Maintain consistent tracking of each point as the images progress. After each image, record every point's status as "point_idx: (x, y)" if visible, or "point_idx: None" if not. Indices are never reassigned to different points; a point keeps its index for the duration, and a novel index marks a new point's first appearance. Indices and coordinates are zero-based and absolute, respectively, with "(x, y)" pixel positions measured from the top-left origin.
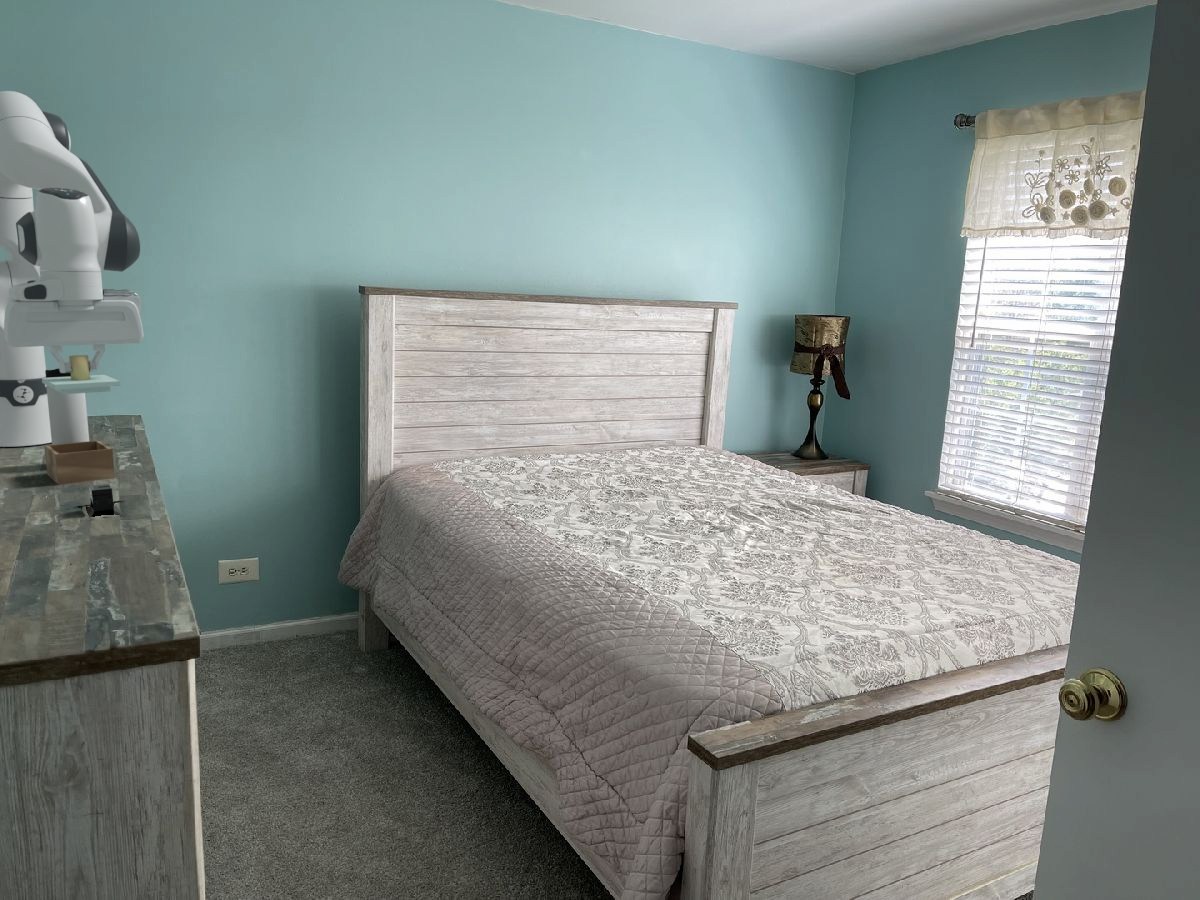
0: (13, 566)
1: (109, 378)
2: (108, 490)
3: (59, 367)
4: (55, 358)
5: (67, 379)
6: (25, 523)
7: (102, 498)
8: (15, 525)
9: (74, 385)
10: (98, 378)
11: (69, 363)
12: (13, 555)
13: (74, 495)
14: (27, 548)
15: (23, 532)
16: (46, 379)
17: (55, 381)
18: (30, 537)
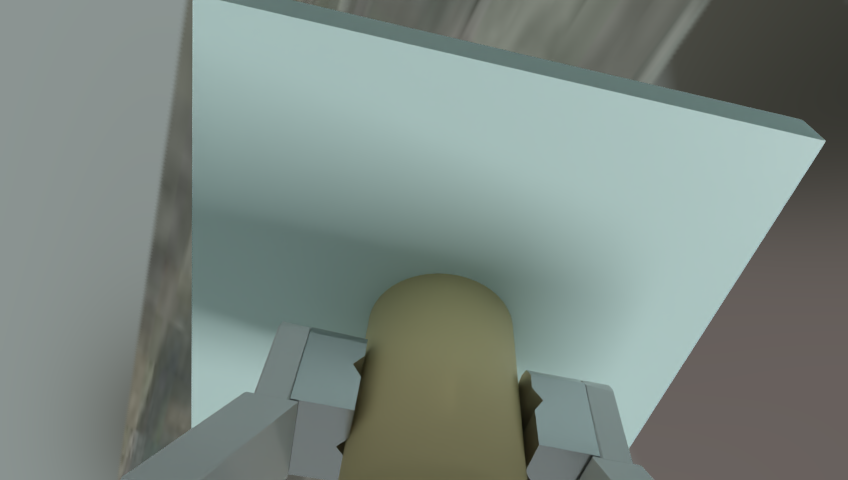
0: (127, 452)
1: (635, 393)
2: None
3: (271, 349)
4: (209, 417)
5: (359, 267)
6: (190, 236)
7: None
8: (166, 236)
9: None
10: (578, 351)
11: (326, 470)
12: (134, 410)
13: (399, 23)
14: (161, 393)
15: (172, 299)
16: (207, 155)
17: (238, 322)
18: (179, 339)
